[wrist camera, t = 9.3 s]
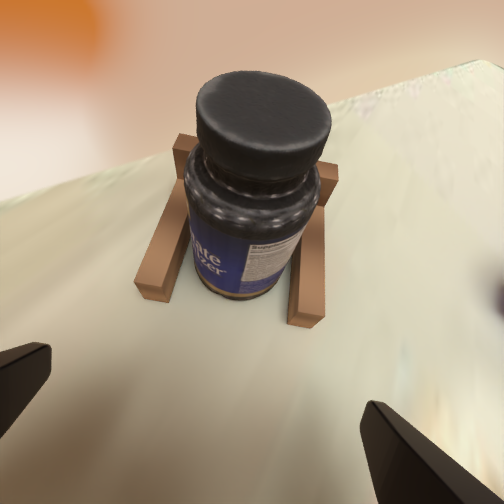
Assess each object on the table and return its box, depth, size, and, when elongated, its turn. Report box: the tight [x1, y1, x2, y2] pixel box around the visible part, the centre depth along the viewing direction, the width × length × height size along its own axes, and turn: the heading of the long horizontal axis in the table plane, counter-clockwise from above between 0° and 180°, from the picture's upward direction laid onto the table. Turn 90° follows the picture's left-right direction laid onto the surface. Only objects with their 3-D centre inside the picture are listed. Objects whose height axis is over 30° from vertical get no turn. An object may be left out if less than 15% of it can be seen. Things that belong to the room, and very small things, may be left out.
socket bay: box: [134, 134, 339, 328], centre depth 16 cm, size 10×10×5 cm
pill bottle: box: [183, 71, 332, 300], centre depth 13 cm, size 6×6×11 cm
